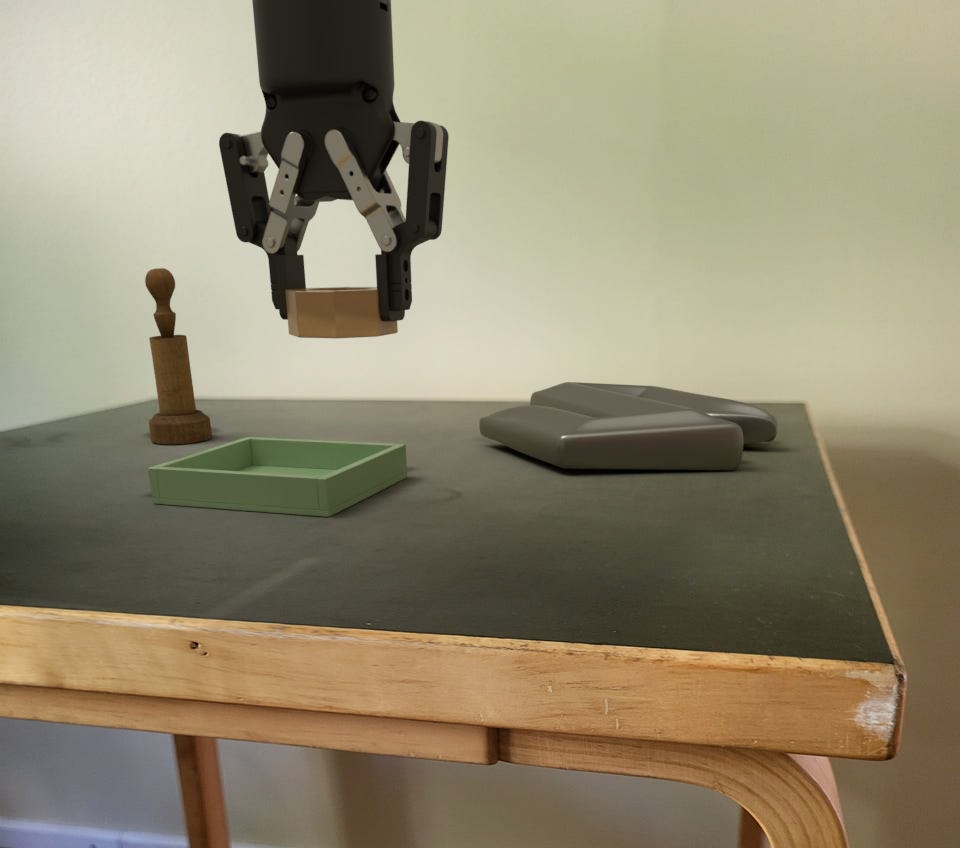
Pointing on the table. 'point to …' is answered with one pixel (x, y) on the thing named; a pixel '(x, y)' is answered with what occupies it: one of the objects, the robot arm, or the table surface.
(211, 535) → the table surface
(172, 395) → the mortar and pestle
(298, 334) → the ring
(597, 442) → the emblem
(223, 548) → the table surface
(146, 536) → the table surface
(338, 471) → the tray
